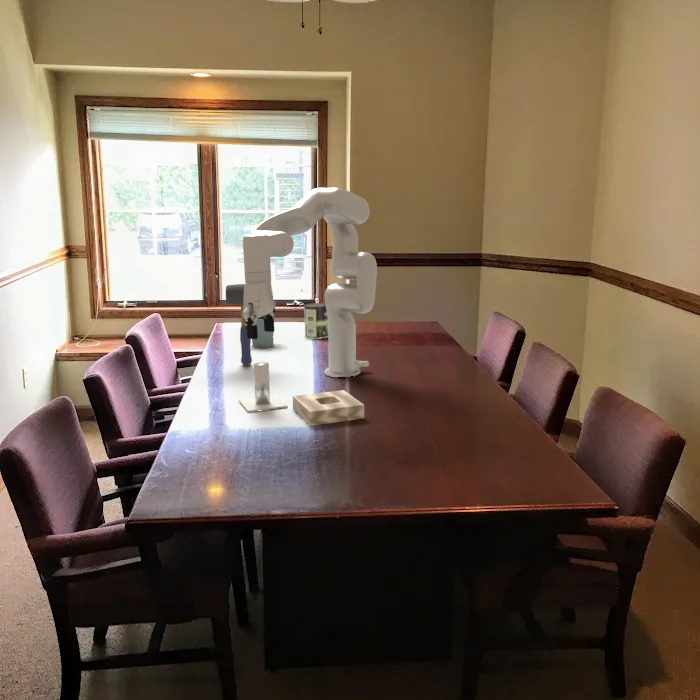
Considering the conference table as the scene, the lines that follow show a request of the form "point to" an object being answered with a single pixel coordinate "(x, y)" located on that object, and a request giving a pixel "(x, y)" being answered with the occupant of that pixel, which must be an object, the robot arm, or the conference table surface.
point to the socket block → (328, 407)
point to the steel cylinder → (261, 383)
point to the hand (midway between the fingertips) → (261, 334)
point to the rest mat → (252, 406)
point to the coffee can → (316, 321)
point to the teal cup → (262, 335)
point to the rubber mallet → (237, 297)
